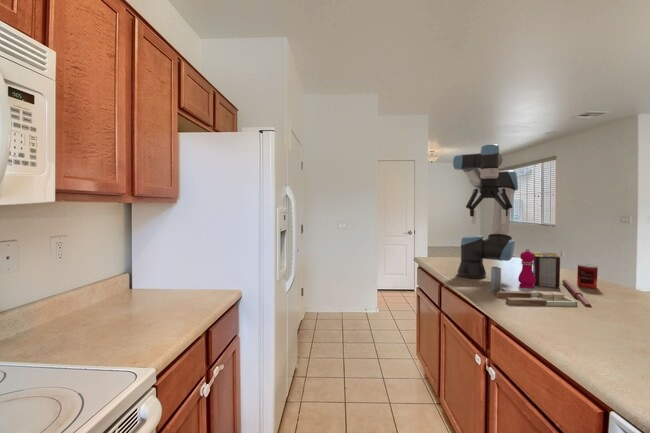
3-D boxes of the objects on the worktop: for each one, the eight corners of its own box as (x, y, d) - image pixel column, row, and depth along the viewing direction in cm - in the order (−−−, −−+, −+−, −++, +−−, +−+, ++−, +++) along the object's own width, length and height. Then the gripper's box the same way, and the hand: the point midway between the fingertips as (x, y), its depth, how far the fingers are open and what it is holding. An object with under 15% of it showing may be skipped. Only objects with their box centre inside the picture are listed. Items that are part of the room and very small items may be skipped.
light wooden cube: (547, 300, 135) (547, 291, 135) (557, 301, 135) (557, 291, 134) (553, 303, 131) (554, 294, 131) (563, 304, 131) (564, 294, 130)
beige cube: (537, 300, 135) (537, 291, 135) (546, 300, 135) (547, 291, 135) (542, 303, 131) (543, 294, 131) (553, 303, 131) (553, 294, 131)
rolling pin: (593, 311, 124) (593, 303, 124) (583, 310, 126) (583, 302, 125) (568, 284, 164) (568, 278, 164) (561, 284, 165) (561, 278, 165)
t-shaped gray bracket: (489, 293, 147) (490, 266, 146) (504, 294, 146) (505, 266, 146) (495, 297, 141) (496, 268, 141) (510, 297, 141) (511, 268, 140)
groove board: (494, 297, 141) (494, 290, 141) (526, 298, 140) (526, 290, 140) (510, 308, 127) (510, 300, 127) (546, 308, 126) (546, 300, 126)
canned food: (589, 284, 162) (589, 263, 162) (601, 289, 154) (601, 266, 154) (573, 284, 163) (573, 263, 163) (584, 288, 155) (585, 266, 155)
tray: (527, 298, 140) (527, 292, 140) (554, 298, 139) (554, 292, 139) (546, 308, 126) (547, 301, 126) (577, 308, 126) (577, 302, 126)
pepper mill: (538, 290, 152) (539, 249, 151) (523, 290, 152) (524, 249, 151) (529, 286, 159) (530, 247, 158) (515, 286, 159) (515, 247, 158)
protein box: (555, 281, 169) (556, 253, 168) (559, 288, 155) (560, 257, 155) (532, 279, 174) (533, 251, 173) (534, 286, 161) (535, 255, 160)
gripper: (465, 177, 145) (464, 223, 146) (521, 177, 143) (520, 223, 144) (459, 179, 152) (458, 222, 153) (512, 178, 151) (511, 222, 152)
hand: (488, 223), depth 149 cm, fingers open, 13 cm apart
